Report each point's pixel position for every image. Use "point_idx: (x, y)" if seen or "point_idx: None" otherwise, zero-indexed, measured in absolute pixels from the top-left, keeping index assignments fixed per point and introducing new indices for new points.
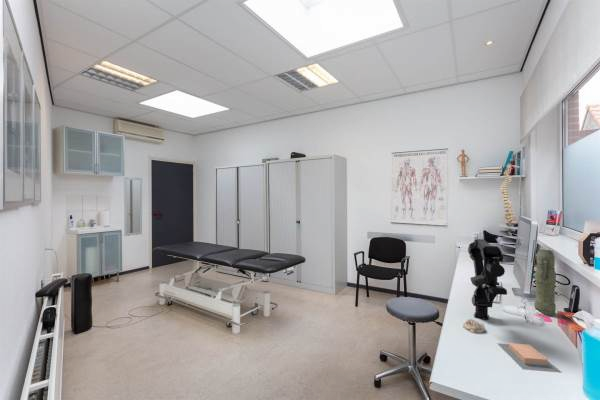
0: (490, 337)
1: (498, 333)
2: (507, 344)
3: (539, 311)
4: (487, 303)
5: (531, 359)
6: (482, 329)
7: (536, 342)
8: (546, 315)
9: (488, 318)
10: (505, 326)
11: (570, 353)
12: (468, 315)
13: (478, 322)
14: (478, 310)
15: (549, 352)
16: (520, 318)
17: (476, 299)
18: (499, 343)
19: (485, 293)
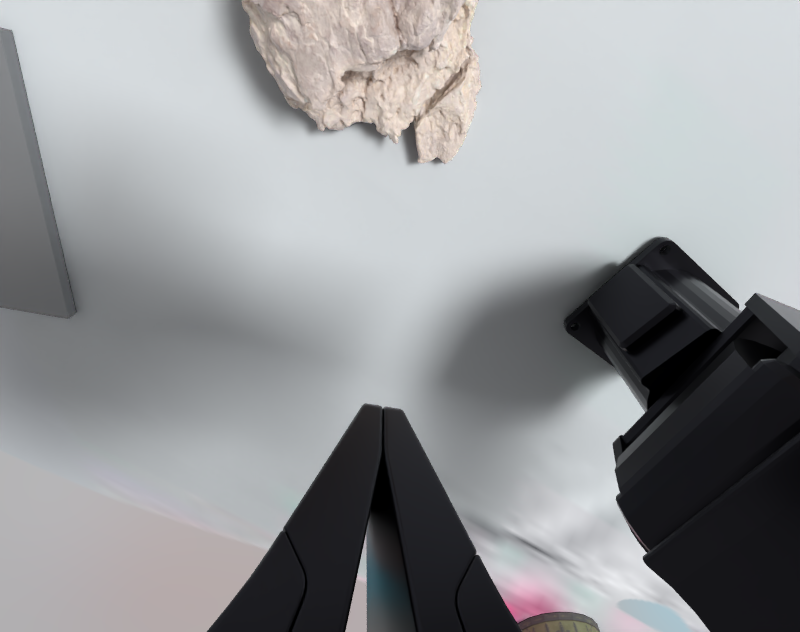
0: (187, 79)
1: (293, 232)
2: (13, 138)
3: (555, 629)
4: (639, 442)
5: None
6: (252, 37)
7: (173, 397)
8: (523, 623)
9: (574, 336)
10: (425, 372)
11: (67, 465)
12: (727, 202)
13: (326, 34)
14: (668, 301)
15: (32, 378)
16: (526, 521)
17: (791, 367)
18: (4, 59)
19: (773, 584)
